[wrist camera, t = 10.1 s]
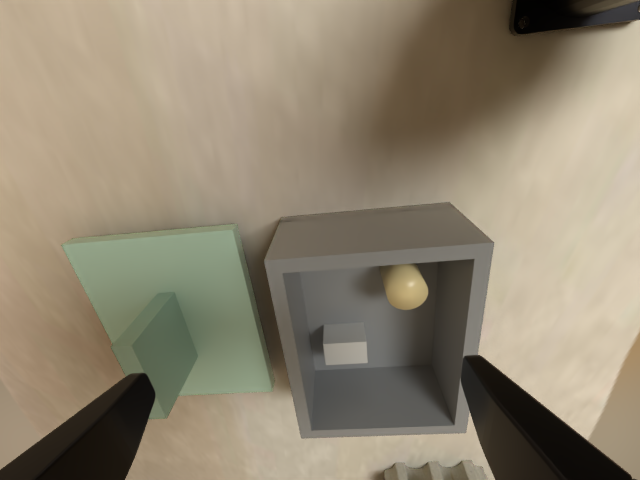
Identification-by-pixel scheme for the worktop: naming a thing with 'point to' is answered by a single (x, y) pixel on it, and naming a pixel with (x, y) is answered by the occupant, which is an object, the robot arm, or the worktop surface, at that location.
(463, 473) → the egg carton
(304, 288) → the tub
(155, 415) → the lid
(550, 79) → the worktop surface
